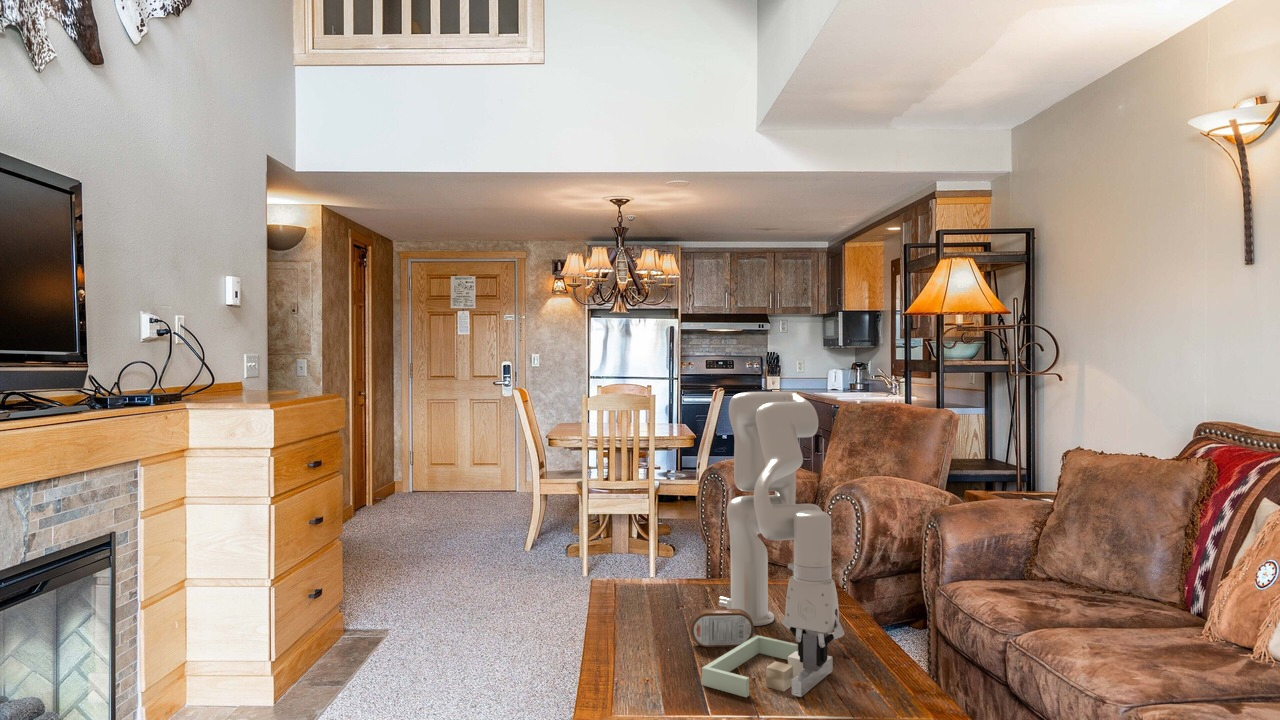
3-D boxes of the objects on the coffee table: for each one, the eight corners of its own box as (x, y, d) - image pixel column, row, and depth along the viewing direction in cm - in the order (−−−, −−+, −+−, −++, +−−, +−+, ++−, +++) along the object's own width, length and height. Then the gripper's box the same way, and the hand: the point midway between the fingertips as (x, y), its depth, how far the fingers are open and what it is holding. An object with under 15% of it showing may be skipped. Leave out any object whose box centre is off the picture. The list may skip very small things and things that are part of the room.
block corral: (701, 685, 158) (701, 667, 158) (756, 650, 177) (756, 635, 177) (746, 697, 152) (746, 679, 152) (797, 660, 171) (797, 644, 171)
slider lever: (789, 694, 152) (789, 643, 152) (821, 668, 165) (821, 621, 165) (803, 697, 150) (803, 646, 150) (834, 671, 163) (834, 623, 163)
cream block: (787, 675, 163) (787, 656, 163) (795, 669, 166) (795, 651, 166) (805, 680, 160) (805, 660, 160) (813, 674, 163) (813, 655, 163)
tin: (752, 642, 182) (752, 607, 182) (755, 647, 179) (755, 611, 179) (689, 644, 181) (688, 608, 181) (690, 649, 178) (690, 612, 178)
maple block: (766, 687, 157) (766, 667, 157) (775, 680, 160) (775, 661, 160) (784, 692, 154) (784, 671, 154) (792, 685, 158) (792, 665, 158)
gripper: (767, 570, 159) (768, 659, 159) (844, 582, 150) (844, 677, 150) (783, 562, 165) (783, 648, 165) (858, 574, 156) (858, 665, 156)
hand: (812, 661), depth 157 cm, fingers closed on slider lever, 3 cm apart
